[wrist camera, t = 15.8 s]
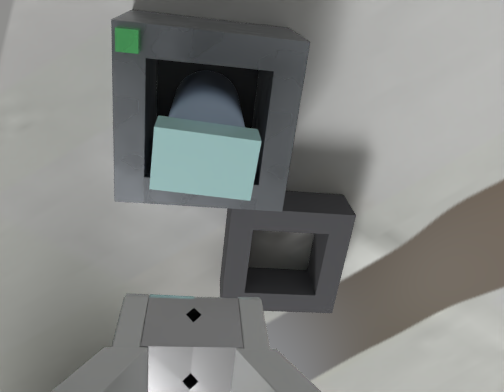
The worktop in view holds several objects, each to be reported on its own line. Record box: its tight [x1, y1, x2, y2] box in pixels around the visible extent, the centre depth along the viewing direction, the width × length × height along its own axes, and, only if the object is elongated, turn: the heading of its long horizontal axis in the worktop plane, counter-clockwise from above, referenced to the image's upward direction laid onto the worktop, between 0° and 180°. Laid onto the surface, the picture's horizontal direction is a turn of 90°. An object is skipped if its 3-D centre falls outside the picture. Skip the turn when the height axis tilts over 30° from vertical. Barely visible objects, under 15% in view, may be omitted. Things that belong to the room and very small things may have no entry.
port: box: [111, 10, 310, 212], centre depth 25 cm, size 9×9×7 cm
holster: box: [220, 191, 356, 313], centre depth 31 cm, size 8×8×3 cm
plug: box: [149, 70, 262, 201], centre depth 23 cm, size 4×4×10 cm
